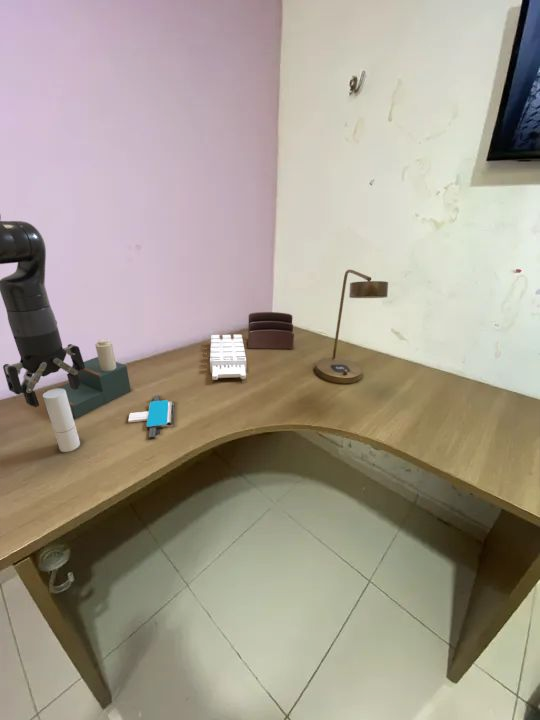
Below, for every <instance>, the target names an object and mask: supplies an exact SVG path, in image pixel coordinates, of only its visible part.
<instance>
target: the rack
mask: <svg viewBox="0 0 540 720" xmlns="http://www.w3.org/2000/svg"><path fill="white" fill-rule="evenodd" d="M83 362H84V365H85V368H84V369H83V370H80V371H79V372H78V378H79V382H80V386H78V387H79V389H77V390H74V389H72V388H71V387H70V384H69V383H66V384H64V385H62V386H59V387H56V388H55V389H57V388H62V389H65V390H66V394H67V398H68V401H69V405H70V408H71V412H72V416H73V419H74V420H75V419H77V418H80V417H82V416H84V415H85V414H88V413H90V412H92V411H94V410H96V409H98V408H99V407H101V406H104V405H105V404H107V403H110V402H112V401H114V400H115V399H118V398H120V397H121V396H124V395H125V394H128V393H130V392H131V391H132V389H131V384H130V378H129V372H128V366H127V365H126V364H122V363H120V362H118V361H116V366H117V367H116V369H114V370H112V371H101V369H100V365H99V360H98V356H96V357H93V358H91V359H87V360H85V361H83ZM71 366H73V363H72V364H71ZM44 391H45V392H47V391H49V390H47V389H46V390H44ZM45 392H44V393H45Z"/></svg>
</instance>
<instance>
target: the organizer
mask: <svg viewBox="0 0 540 720" xmlns="http://www.w3.org/2000/svg"><path fill="white" fill-rule="evenodd" d="M231 335H232V334H222V338H221V337H220V336H221V335H220V334H211V335H210V337H211V338H210V353H209V357H210V358H209V370H210V371H209V372H210V374H211V376H212V377H211V378H212V379H211V380H213V381H216V380H218V379H224V378H225V379H226V378H227V379H228V378H240V379H241V380H242V379H243V380H245V379H247V362H248V361H247V357H246V356H247V354H246V352H245V351H246V350H245V345H244V340H243V335H242V334H233V338H232V336H231Z"/></svg>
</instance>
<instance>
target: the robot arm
mask: <svg viewBox="0 0 540 720" xmlns="http://www.w3.org/2000/svg"><path fill="white" fill-rule="evenodd" d="M46 259H47V247H46V243H45V240H44V238H43V236H42V234H41V232H40V231H39V230H38V229H37V228H36V227H35V226H34V225H33V224H32V223H30V222H27V221H22V220H2V219H1V214H0V265H8V264H15V263H17V264H16V265H17V266H16V270H15V271H14V272H13V273H11V274H9V275H7V276H4V277H2V278H1V279H0V296H1V298H2V301H3V305H4V307H5V310H6V315H7V322H8V325H9V328H10V331H11V333H12V336H13V338H14V342H15V345H16V349H17V351H18V354H19V356H20V361H19V362H16V363H13V364H9V363H5V364H3V365H2V369H3V373H4V376H5V380H6V383H7V387H8V390H9V391H10V392H11V393H14V394H15V395H21V394H23V397H24V399H25V402H26V404H27V405H29V406H30V407H34V408H37V407H40V403H39V400H38V397H37V394H36V391H34V389H35V387H36V385H37V384H38V383H39V382H40V380H41V377H43V378H44V377H47V376H48V375H50V374H55V373H58V372H59V370H63V371H65V372H66V377H67V380H68V384H70V387H71V388H72V389H74V390H77V389H79V387H78V386H80V382H79V378H78V372H79V371H80V370H83V369H84V368H85V365H84V362H85V361H84V358H83V356H82V352H81V350H80V347H79V346H77V345H75V344H72V343H69V344H67V347H63V342H62V339H61V335H60V331H59V327H58V321H57V320H56V317H55V313H54V311H53V309H52V307H51V303H50V299H49V296H48V295H49V294H48V292H47V288H46V283H45V282H46V280H45V279H46V261H47V260H46ZM67 355H68V356H70V359H71V363H72V364H73V365H69V364H68V363H66V362H65V359H66V356H67ZM22 369H24V370H26V371H25V372H24V374H23V377H22V378H23V380H22V382H21V381H20V377H19V375H20V374H21V370H22Z"/></svg>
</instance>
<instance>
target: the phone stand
mask: <svg viewBox="0 0 540 720" xmlns="http://www.w3.org/2000/svg"><path fill="white" fill-rule="evenodd" d="M145 421H146V427H147V428H149V430H148V440H153V439H156V435H161V433H160V432H161V429H163V428H172V427H174V426H175V425H174V424H175V402H173V400H170V401H169V400H168V399H160V395H154V396H153V401H149V407H148V410H147V411H138V412H130V413H129V415H128V420H127V422H128V423H129V424H130V423H138V422H145Z"/></svg>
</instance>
